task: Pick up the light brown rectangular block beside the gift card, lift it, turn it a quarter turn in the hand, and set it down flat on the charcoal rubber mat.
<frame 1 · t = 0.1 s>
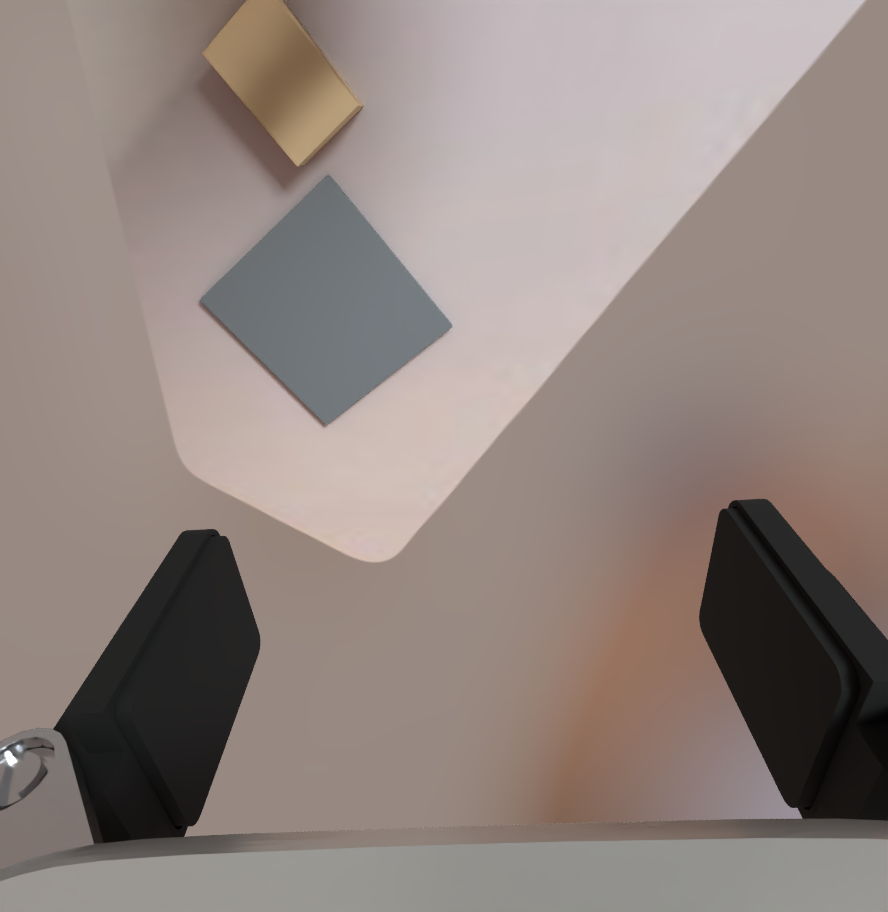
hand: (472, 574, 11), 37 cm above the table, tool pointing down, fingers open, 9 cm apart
light brown rectangular block: (293, 82, 39), on the table
mat: (328, 311, 46), on the table
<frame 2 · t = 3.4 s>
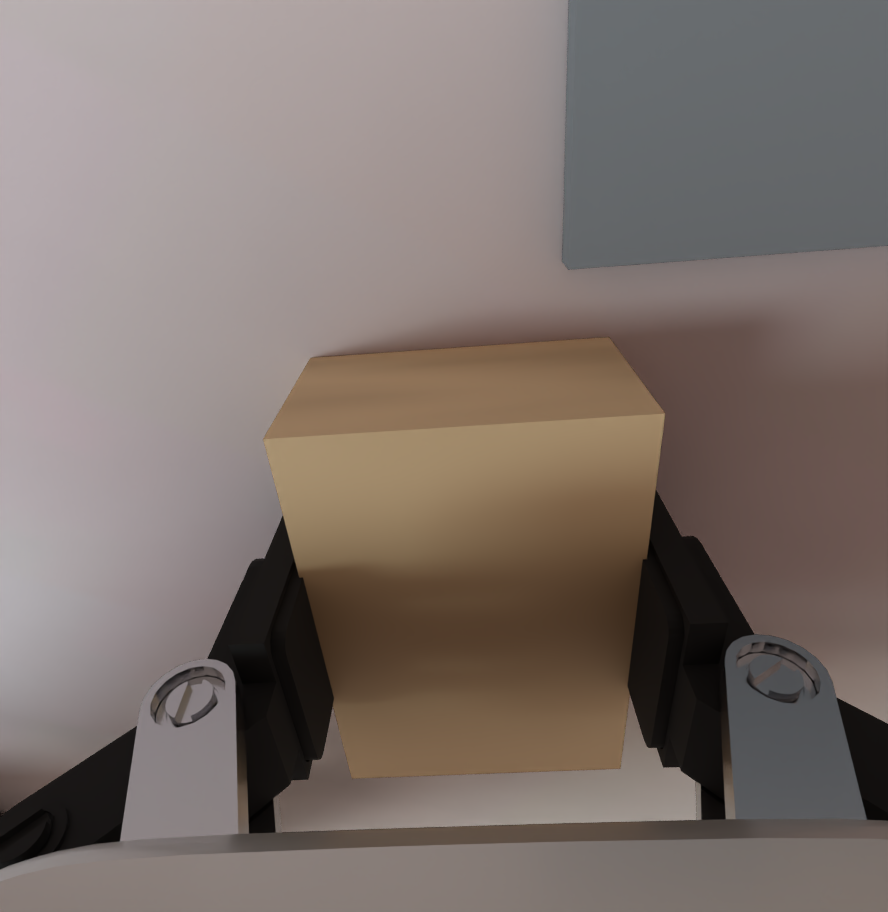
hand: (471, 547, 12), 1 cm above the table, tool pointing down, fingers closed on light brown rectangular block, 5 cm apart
light brown rectangular block: (469, 522, 13), on the table, touching gripper
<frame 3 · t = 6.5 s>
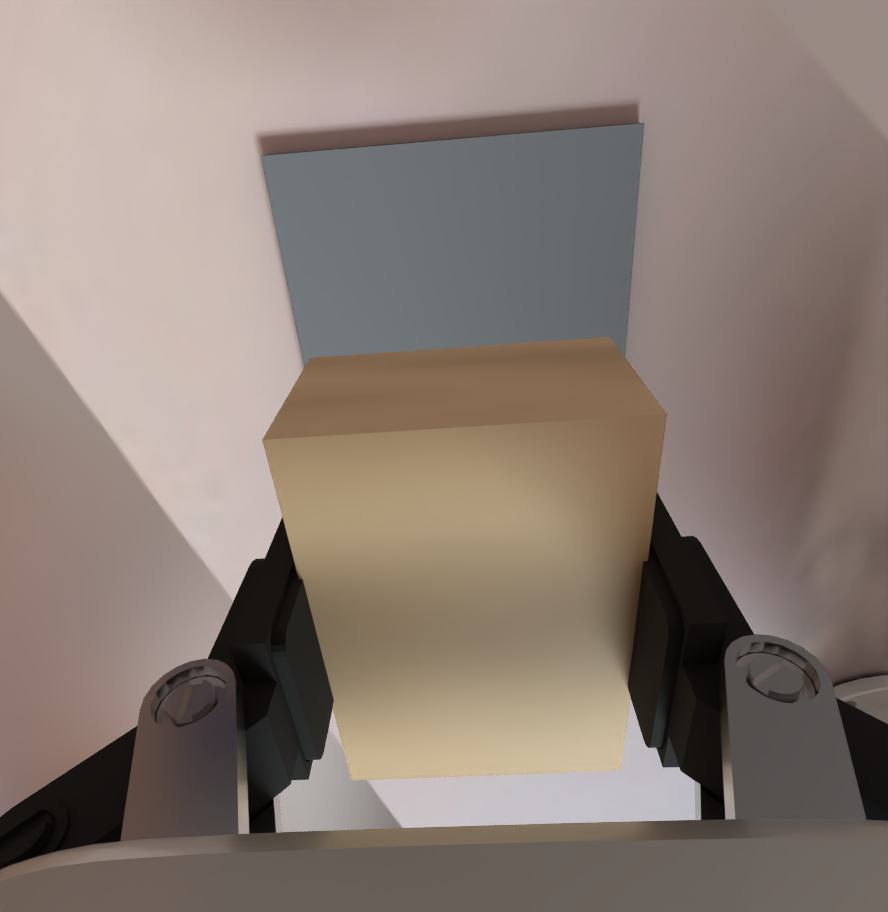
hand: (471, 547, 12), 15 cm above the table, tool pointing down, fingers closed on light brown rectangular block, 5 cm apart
light brown rectangular block: (469, 523, 13), point 15 cm above the table, touching gripper
mat: (461, 322, 25), on the table
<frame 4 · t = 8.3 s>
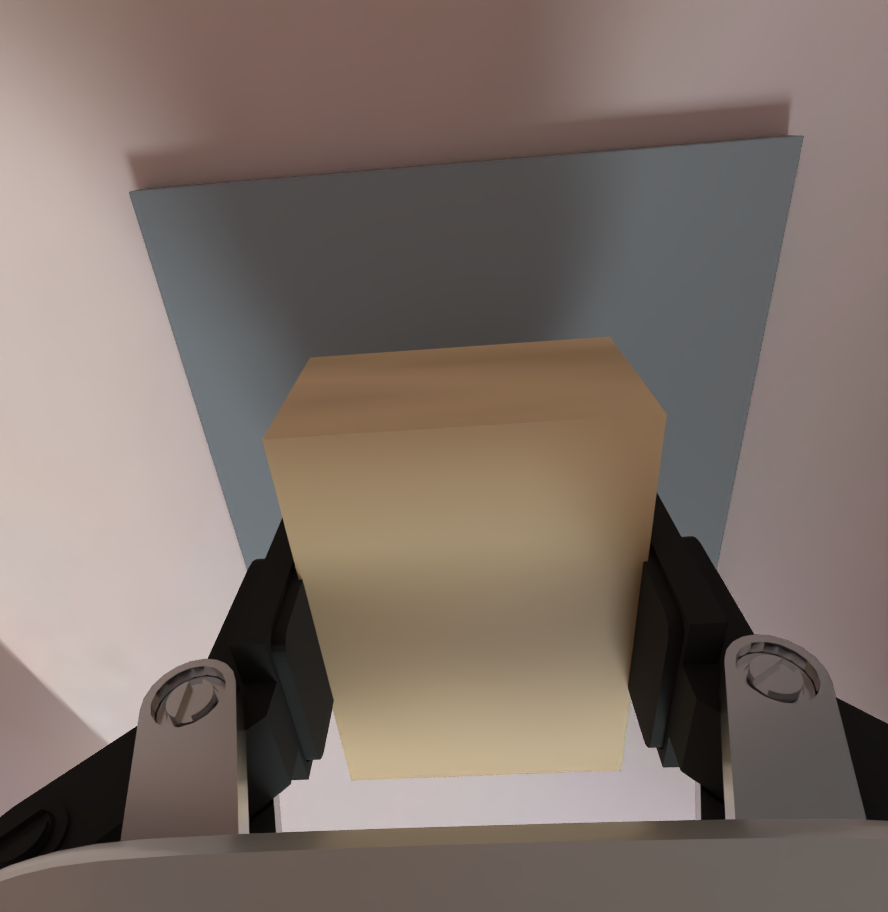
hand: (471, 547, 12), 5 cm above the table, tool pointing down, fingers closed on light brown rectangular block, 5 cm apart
light brown rectangular block: (469, 523, 13), point 4 cm above the table, touching gripper
mat: (472, 446, 16), on the table
when the fingers open (2 cm above the table, at t = 9.6 s): light brown rectangular block drops 1 cm, resting on mat.
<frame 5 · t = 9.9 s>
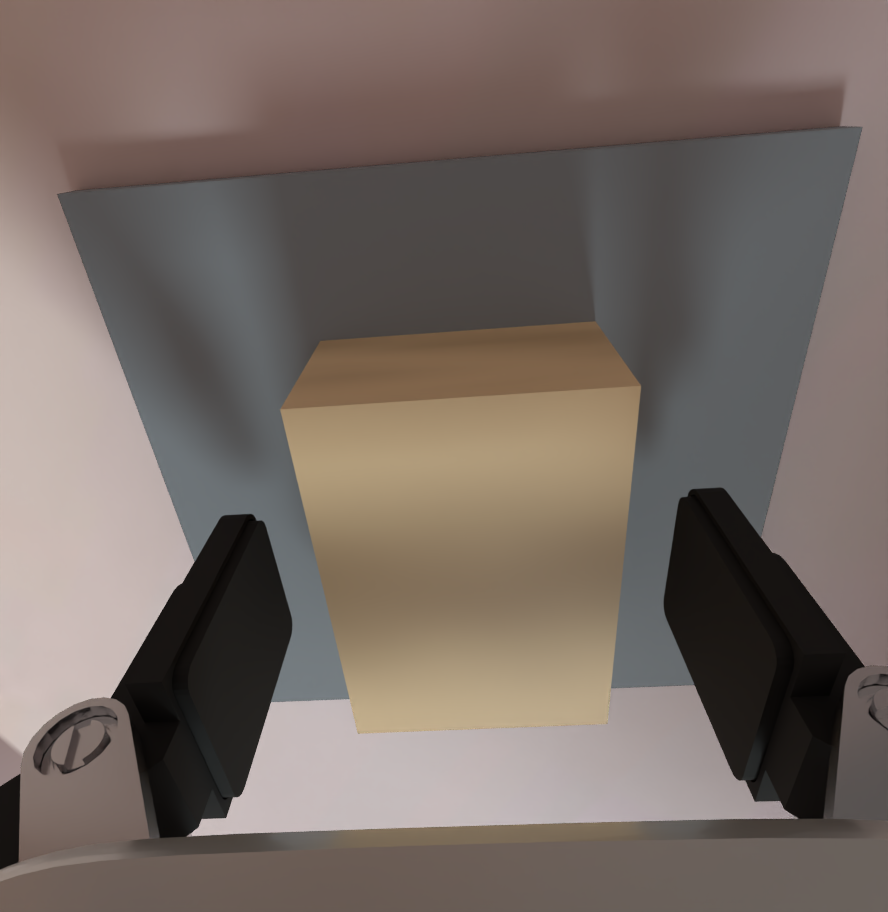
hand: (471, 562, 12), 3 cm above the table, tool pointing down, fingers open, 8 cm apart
light brown rectangular block: (467, 497, 14), point 1 cm above the table, touching mat
mat: (467, 482, 14), on the table
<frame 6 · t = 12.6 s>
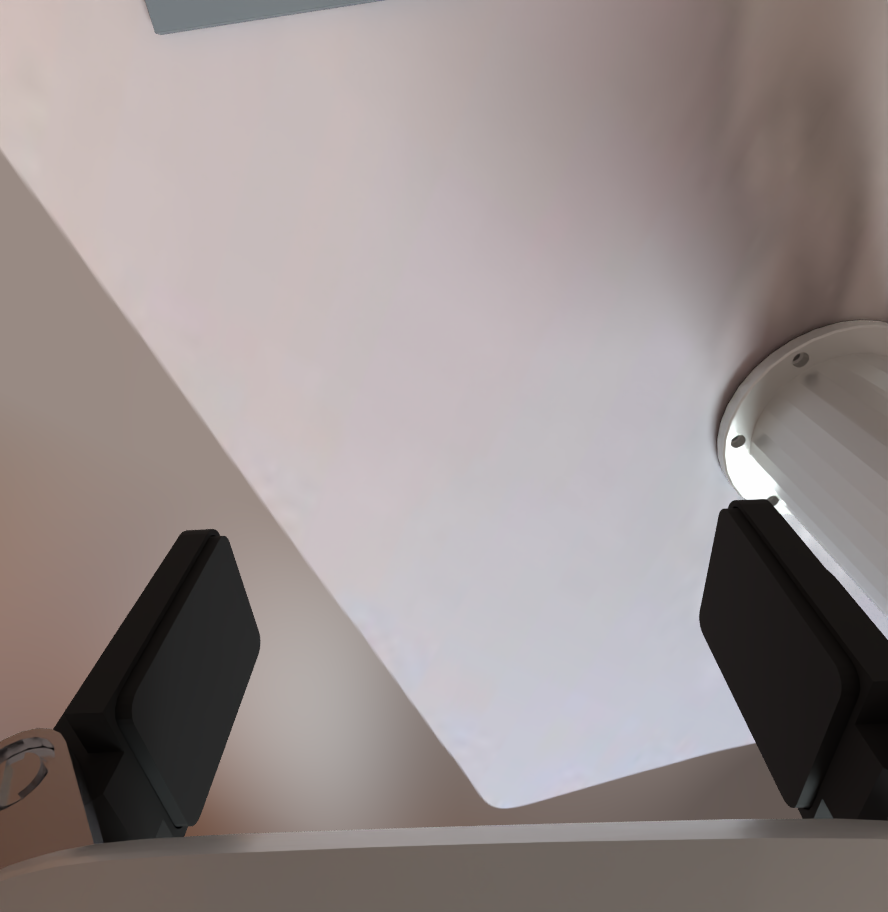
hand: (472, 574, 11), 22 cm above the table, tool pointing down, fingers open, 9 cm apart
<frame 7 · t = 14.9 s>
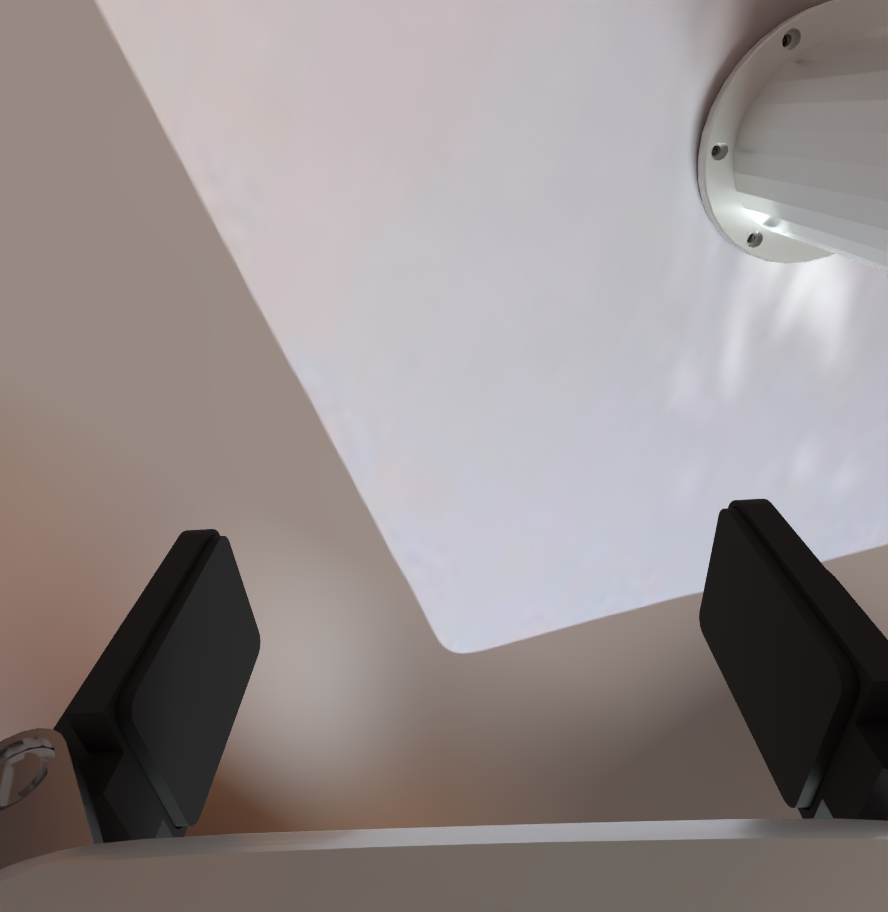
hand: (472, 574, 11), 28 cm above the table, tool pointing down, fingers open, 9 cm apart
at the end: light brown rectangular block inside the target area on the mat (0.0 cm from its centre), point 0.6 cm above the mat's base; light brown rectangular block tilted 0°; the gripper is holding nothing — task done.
